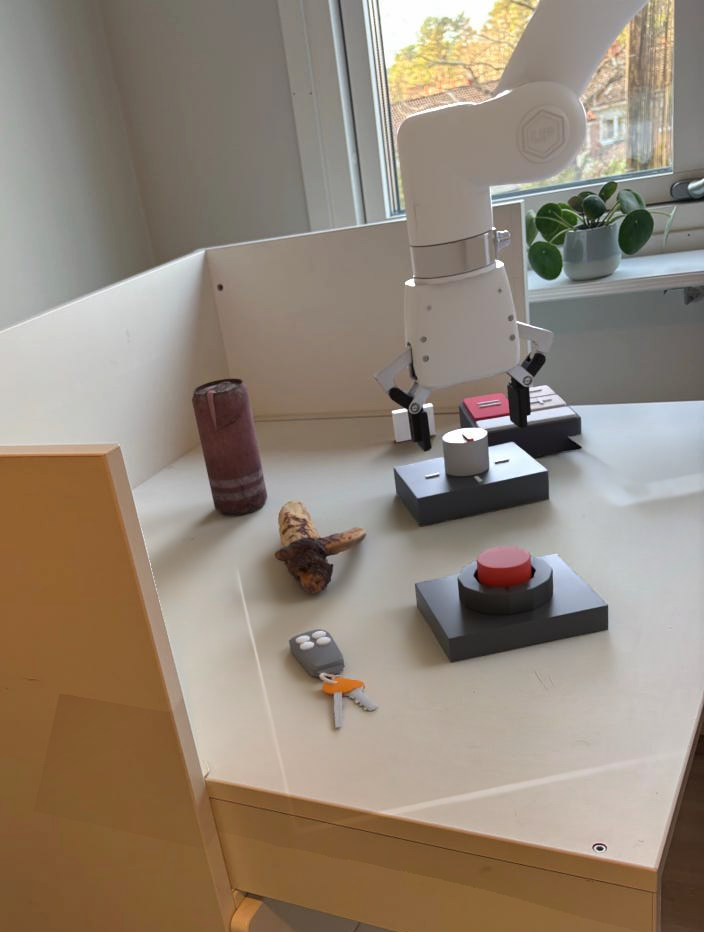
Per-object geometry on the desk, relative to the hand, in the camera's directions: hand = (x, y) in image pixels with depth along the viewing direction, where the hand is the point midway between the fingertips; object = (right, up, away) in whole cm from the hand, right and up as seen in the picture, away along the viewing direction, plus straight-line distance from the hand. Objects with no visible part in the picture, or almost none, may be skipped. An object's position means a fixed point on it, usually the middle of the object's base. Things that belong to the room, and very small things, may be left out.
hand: (471, 435), depth 96 cm
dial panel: (+1, -6, +3) cm, 6 cm away
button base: (-2, -19, -20) cm, 27 cm away
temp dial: (0, -3, +2) cm, 3 cm away
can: (-23, -5, +13) cm, 27 cm away
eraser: (-1, +4, +23) cm, 23 cm away
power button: (-3, -16, -21) cm, 27 cm away
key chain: (-16, -24, -23) cm, 37 cm away
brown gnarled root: (-15, -13, -3) cm, 20 cm away
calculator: (+9, +3, +15) cm, 18 cm away
